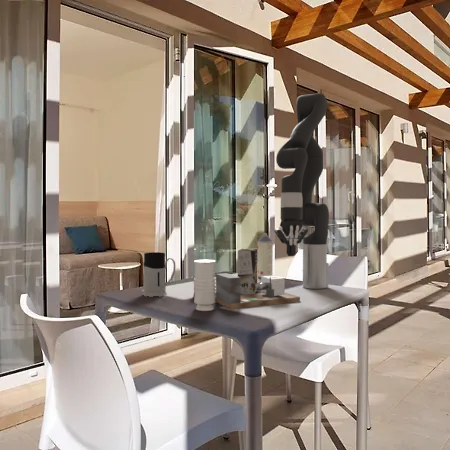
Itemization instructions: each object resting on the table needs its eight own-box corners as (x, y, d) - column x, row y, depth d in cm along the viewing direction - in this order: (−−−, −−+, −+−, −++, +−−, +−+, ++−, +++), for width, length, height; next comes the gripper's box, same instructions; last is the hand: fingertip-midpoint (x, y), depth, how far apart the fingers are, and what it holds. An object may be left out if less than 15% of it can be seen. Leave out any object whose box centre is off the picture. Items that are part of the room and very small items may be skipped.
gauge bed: (280, 295, 163) (280, 268, 162) (299, 301, 152) (300, 273, 152) (214, 301, 152) (214, 273, 151) (230, 309, 141) (230, 278, 140)
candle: (198, 312, 137) (198, 262, 136) (190, 307, 143) (190, 260, 143) (219, 309, 140) (219, 261, 139) (211, 305, 146) (210, 259, 145)
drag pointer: (269, 295, 151) (269, 276, 151) (274, 296, 148) (274, 278, 148) (266, 295, 150) (266, 277, 150) (271, 297, 148) (271, 278, 147)
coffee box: (254, 295, 163) (254, 250, 163) (237, 294, 165) (237, 250, 164) (257, 290, 172) (257, 248, 172) (241, 289, 173) (241, 248, 173)
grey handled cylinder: (154, 291, 171) (154, 251, 170) (183, 295, 163) (183, 253, 162) (137, 294, 164) (137, 253, 163) (166, 299, 155) (166, 256, 155)
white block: (273, 291, 159) (273, 275, 158) (284, 294, 152) (284, 278, 152) (252, 293, 155) (252, 277, 155) (262, 296, 149) (262, 280, 148)
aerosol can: (261, 275, 209) (261, 232, 208) (274, 277, 205) (275, 233, 204) (254, 277, 203) (254, 233, 202) (268, 279, 199) (268, 233, 199)
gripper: (301, 206, 163) (300, 254, 163) (269, 205, 157) (269, 255, 158) (313, 206, 156) (313, 256, 156) (281, 205, 150) (280, 257, 151)
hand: (291, 255), depth 157 cm, fingers closed
